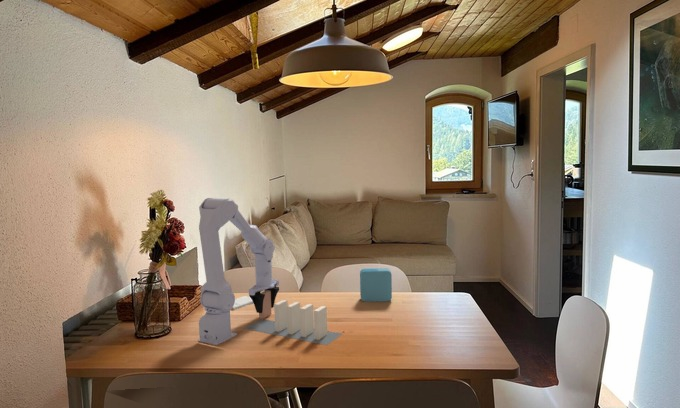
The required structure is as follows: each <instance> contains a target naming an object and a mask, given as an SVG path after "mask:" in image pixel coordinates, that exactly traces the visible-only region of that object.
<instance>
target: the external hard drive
mask: <svg viewBox="0 0 680 408" xmlns="http://www.w3.org/2000/svg"><path fill="white" fill-rule="evenodd" d="M252 304H254V303H253V301H252V299H251V298H250V296H247V295H243V296H240V297H237V298H235V303H234V306H233V307H232V311H235V310H237V308H238V309H241V308H244V307H247V306H249V305H252ZM246 305H247V306H246ZM240 307H241V308H240ZM234 309H235V310H234Z"/></svg>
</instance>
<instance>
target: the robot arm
mask: <svg viewBox="0 0 680 408" xmlns="http://www.w3.org/2000/svg"><path fill="white" fill-rule="evenodd" d="M198 208H199V209H198V210H199V215H200V216H199V217H200V218H199V222H198V223H199V224H198V231H199V236H200V244H201V245H200V246H201V251H202V259H203V266H204V273H205V274H204V275H205V281H206V282H204V283H203V284H202V285H201V287H200V290H201V293H200V296H199V297H200V299H199V301H200V305H201V306H202V307H204V311H205V314H204V315H202V316H201V317H200V318H199V322H198V330H199V333H198V334H199V338H198V339H197V341H198V342H202V343H206V344H209V345H214V346H218V345H220V344H221V343H224V342H226V341H228V340H229V339H232V338H234V337H236V336H238V333H237V332H236V333H235V332H232V323H231V311H233V309H232V307H233V306H234V303H235V299H236V297H235V294H234V292H233V291H232V290H233V289H232V286H231V284H230V283H229V282H228V281H227V280H226V278H225V272H224V263H223V256H222V250H221V249H222V248H221V241H220V235H219V234H220V233H219V231H220V230H221V228H222V227H224V226H225V225H226V224H227V223H228V222H230V223H231V224H232V225H234V226H235V227H236V228H237V229H238V230H239V231H240V232H241V233H240V234H241V238H242V239H243V240H244V241H245V242H246V243H247V244H248V245H249V247H250V248H249V249H250V251H251V253H252V254H254V267H255V269H254V270H255V285H253V286H252V287H251V288H249V289H248V295H249V296H248V297H250V298H251V299H252V301H253V303H252V304H253V305H254V308H255V312H256V313H257V314H259V313H262V312H263V300H264V297H265V294H261V293H262V292H264V291H266V290H269V291H271V309H274V304H276V303H275V302H276V298H277V295H278V292H279V291H280V287H279V285H280V280H279V279H273V268H272V267H273V265H272V263H273V262H272V260H273V255H274V252H275V248H276V247H275V244H274V242H273V241H272V239H270V238H266V236H265V234H263V233H262V232H261V230H260V229H259V227H258V225H255V224H249V222H248V220H247V219H246V218H245V217H244V215H243V214H242V213H241V211H240V210H239V205H238V204H236V202H235V201H234V199H231V198H213V197H207V198H204V200H202V203H200V205H199V207H198Z"/></svg>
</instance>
